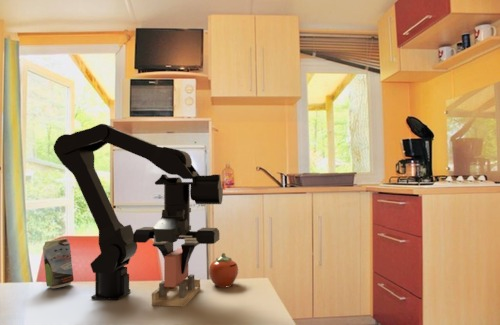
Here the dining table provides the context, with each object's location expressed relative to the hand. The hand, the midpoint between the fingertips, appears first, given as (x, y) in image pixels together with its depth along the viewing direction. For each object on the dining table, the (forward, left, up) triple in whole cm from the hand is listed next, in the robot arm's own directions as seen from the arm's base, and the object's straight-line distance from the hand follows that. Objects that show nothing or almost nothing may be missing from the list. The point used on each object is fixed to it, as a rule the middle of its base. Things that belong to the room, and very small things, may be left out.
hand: (177, 273), depth 85 cm
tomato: (+9, +10, -6) cm, 14 cm away
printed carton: (-32, +4, -6) cm, 33 cm away
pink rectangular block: (0, 0, -2) cm, 2 cm away
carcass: (0, 0, -5) cm, 5 cm away
